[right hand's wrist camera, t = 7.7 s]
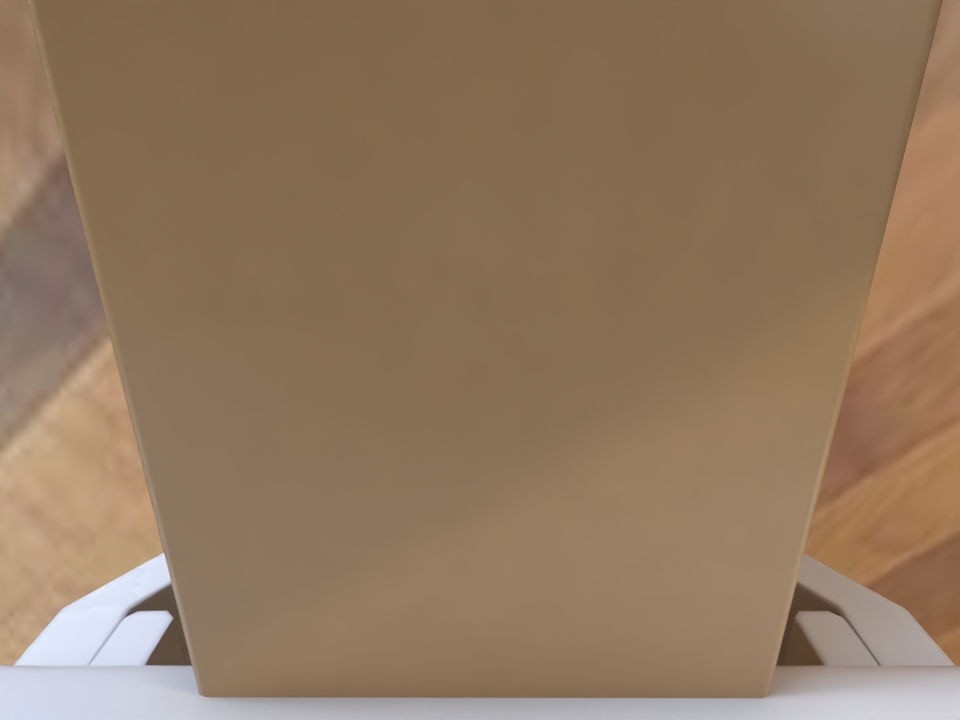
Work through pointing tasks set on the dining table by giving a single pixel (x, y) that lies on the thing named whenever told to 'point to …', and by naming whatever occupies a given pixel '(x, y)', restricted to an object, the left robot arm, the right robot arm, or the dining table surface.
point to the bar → (484, 321)
